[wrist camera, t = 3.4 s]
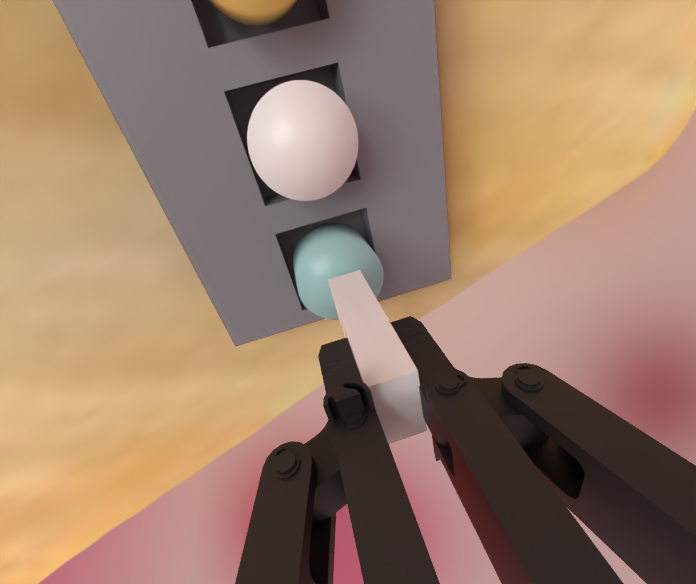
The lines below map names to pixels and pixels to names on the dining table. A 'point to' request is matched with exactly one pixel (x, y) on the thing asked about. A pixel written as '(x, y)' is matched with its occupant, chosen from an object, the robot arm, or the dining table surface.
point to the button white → (302, 140)
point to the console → (232, 126)
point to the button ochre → (254, 10)
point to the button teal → (332, 265)
